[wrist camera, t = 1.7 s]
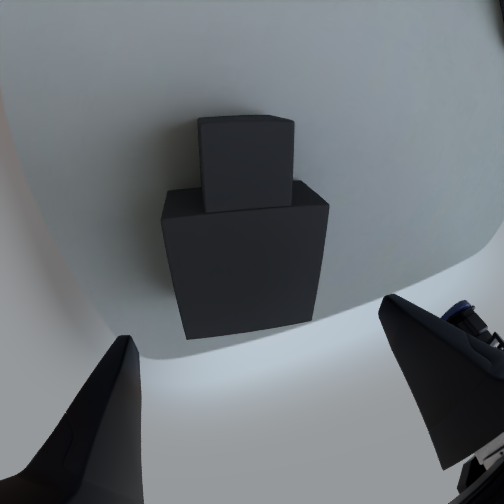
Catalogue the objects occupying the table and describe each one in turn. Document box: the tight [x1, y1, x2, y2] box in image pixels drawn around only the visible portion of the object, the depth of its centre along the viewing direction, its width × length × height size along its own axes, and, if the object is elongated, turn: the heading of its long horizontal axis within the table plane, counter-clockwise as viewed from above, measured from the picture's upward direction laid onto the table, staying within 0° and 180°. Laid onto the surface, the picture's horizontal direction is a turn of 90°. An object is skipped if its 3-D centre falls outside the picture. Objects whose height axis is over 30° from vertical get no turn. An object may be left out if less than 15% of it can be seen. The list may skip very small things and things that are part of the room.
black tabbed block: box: [161, 115, 329, 340], centre depth 11 cm, size 6×9×3 cm, turn 0°
